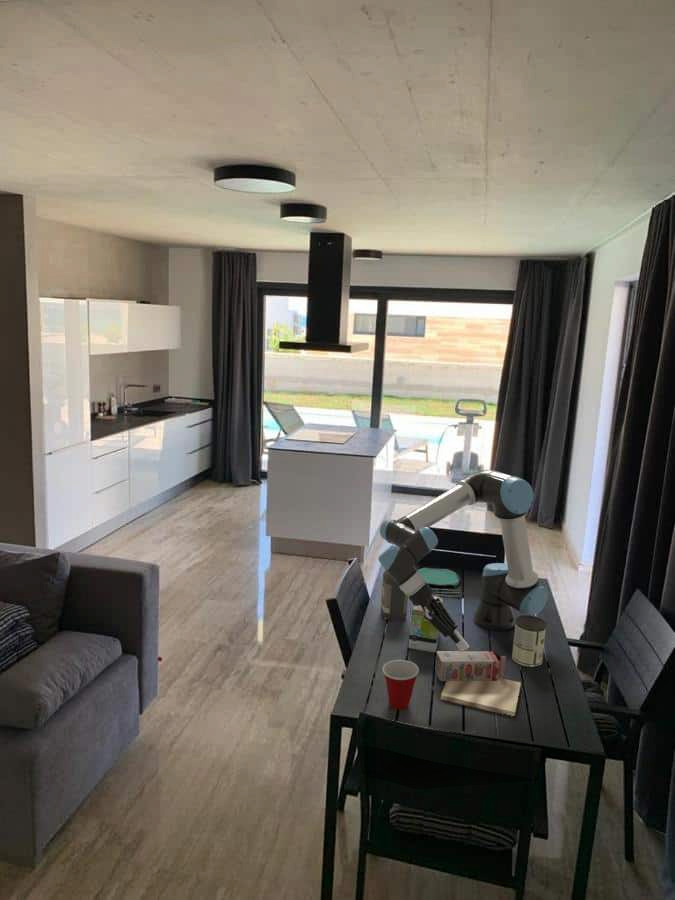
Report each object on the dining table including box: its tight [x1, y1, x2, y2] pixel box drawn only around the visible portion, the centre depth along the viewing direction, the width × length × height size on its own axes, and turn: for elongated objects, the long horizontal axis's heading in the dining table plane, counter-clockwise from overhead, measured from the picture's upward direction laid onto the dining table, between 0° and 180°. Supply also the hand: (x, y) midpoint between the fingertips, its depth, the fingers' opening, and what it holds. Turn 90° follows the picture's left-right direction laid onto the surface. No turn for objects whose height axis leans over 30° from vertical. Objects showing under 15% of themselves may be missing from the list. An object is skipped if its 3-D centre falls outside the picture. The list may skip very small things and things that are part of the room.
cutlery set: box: [416, 567, 462, 599], centre depth 295 cm, size 20×30×2 cm, turn 178°
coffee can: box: [511, 614, 548, 668], centre depth 230 cm, size 10×10×14 cm
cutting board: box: [440, 677, 522, 717], centre depth 208 cm, size 22×18×2 cm
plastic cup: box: [382, 659, 420, 711], centre depth 199 cm, size 11×11×12 cm
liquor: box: [380, 571, 409, 621], centre depth 257 cm, size 9×9×30 cm
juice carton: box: [434, 650, 507, 682], centre depth 215 cm, size 7×7×22 cm
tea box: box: [408, 597, 444, 653], centre depth 239 cm, size 15×10×15 cm, turn 166°
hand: (465, 648), depth 208 cm, fingers closed
